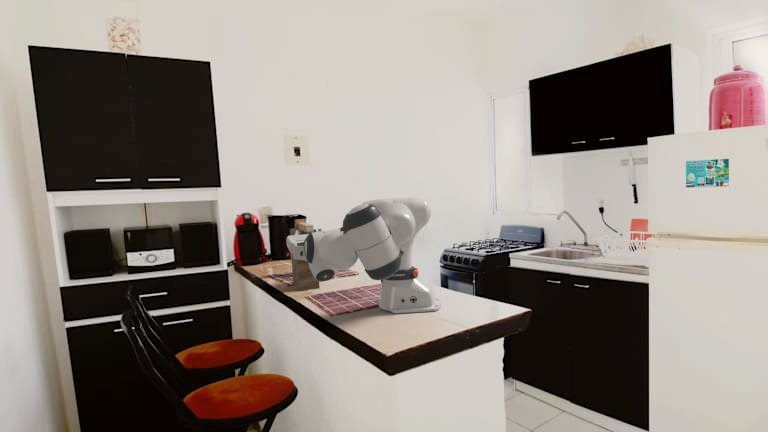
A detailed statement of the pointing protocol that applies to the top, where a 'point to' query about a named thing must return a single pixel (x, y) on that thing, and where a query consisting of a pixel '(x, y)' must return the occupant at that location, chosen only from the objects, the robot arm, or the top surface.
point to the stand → (302, 270)
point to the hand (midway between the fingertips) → (308, 230)
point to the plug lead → (303, 226)
